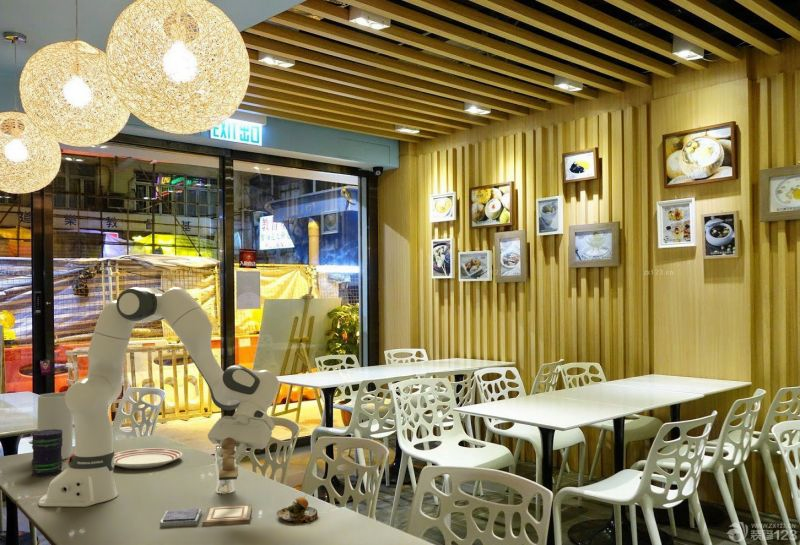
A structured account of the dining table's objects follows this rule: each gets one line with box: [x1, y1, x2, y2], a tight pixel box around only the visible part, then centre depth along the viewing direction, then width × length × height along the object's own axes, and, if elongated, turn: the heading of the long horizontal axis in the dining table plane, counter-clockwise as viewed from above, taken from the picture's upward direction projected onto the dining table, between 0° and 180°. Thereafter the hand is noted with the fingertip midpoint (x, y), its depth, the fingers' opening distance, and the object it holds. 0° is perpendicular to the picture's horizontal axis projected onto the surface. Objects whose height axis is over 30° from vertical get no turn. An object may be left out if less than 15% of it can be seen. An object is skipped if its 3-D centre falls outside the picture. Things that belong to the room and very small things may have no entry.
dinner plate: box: [114, 447, 183, 470], centre depth 258 cm, size 28×27×3 cm
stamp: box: [219, 437, 239, 480], centre depth 196 cm, size 5×5×12 cm
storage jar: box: [31, 429, 63, 478], centre depth 243 cm, size 10×10×15 cm
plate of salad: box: [276, 491, 318, 525], centre depth 195 cm, size 12×12×8 cm
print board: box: [201, 504, 253, 527], centre depth 195 cm, size 13×13×1 cm
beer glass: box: [214, 444, 237, 495], centre depth 221 cm, size 7×7×15 cm
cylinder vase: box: [36, 392, 74, 461], centre depth 266 cm, size 12×12×25 cm
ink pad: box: [159, 508, 202, 528], centre depth 192 cm, size 10×10×2 cm
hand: (227, 457), depth 195 cm, fingers closed on stamp, 3 cm apart
